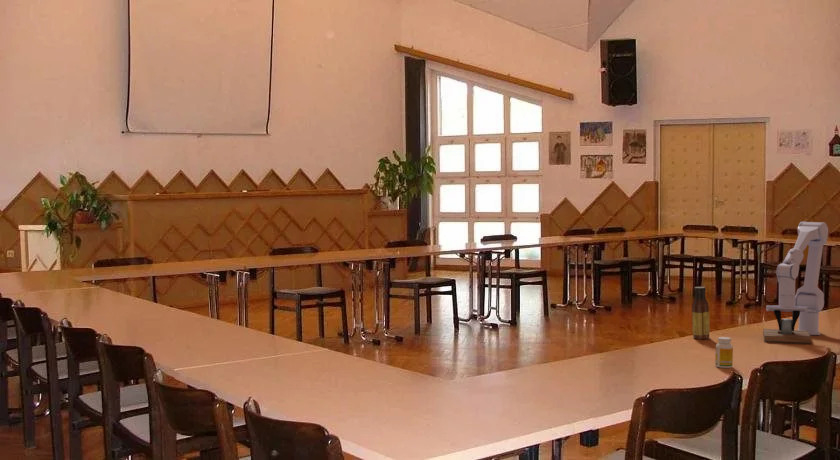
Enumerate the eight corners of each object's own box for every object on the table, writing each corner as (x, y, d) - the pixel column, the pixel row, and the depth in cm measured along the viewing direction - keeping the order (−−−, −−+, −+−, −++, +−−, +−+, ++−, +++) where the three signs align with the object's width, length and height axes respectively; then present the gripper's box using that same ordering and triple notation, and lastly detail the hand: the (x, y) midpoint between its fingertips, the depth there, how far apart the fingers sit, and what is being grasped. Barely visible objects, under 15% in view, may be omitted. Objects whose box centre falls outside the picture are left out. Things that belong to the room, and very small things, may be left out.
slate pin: (780, 334, 354) (780, 318, 353) (791, 334, 353) (791, 319, 352) (781, 336, 350) (781, 320, 350) (792, 336, 349) (792, 320, 348)
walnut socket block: (763, 334, 362) (763, 328, 361) (807, 336, 356) (807, 330, 356) (764, 342, 346) (764, 335, 346) (810, 344, 341) (810, 337, 341)
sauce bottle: (707, 336, 359) (708, 286, 357) (711, 339, 352) (711, 288, 351) (690, 336, 359) (690, 286, 358) (693, 339, 353) (694, 288, 352)
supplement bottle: (711, 366, 305) (712, 337, 304) (723, 364, 307) (723, 335, 307) (724, 369, 300) (724, 339, 299) (736, 367, 303) (736, 338, 302)
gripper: (766, 295, 349) (766, 331, 350) (808, 296, 344) (807, 332, 345) (766, 293, 356) (765, 328, 356) (806, 294, 351) (806, 329, 352)
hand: (786, 330), depth 351 cm, fingers closed on slate pin, 4 cm apart
